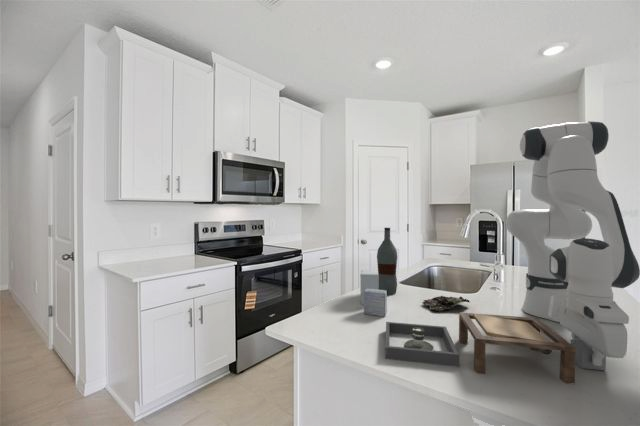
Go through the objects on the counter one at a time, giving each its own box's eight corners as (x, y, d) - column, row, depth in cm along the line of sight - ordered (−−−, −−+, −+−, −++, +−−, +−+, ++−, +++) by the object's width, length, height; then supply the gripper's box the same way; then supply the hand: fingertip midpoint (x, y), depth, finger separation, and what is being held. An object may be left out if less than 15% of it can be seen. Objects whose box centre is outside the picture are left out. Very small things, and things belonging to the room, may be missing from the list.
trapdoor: (529, 334, 85) (530, 322, 85) (553, 357, 72) (555, 343, 72) (471, 325, 88) (473, 313, 88) (485, 345, 76) (487, 332, 75)
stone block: (592, 360, 79) (592, 341, 79) (605, 370, 75) (606, 350, 74) (570, 358, 81) (570, 339, 80) (581, 368, 76) (582, 348, 75)
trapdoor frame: (536, 347, 87) (536, 318, 87) (574, 384, 69) (575, 347, 69) (458, 339, 92) (459, 312, 91) (475, 372, 74) (476, 338, 73)
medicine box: (386, 313, 114) (387, 290, 114) (385, 317, 110) (385, 293, 110) (365, 310, 117) (366, 288, 117) (363, 314, 113) (363, 291, 113)
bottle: (392, 289, 146) (392, 226, 145) (400, 294, 137) (401, 228, 136) (373, 290, 145) (374, 227, 144) (380, 295, 136) (381, 228, 135)
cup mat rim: (445, 336, 94) (445, 326, 94) (458, 366, 77) (458, 354, 76) (386, 330, 98) (386, 321, 98) (385, 358, 81) (385, 347, 80)
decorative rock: (439, 305, 112) (412, 291, 125) (439, 321, 112) (412, 306, 126) (477, 296, 118) (448, 284, 132) (477, 311, 119) (448, 297, 133)
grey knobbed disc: (450, 352, 83) (450, 334, 83) (411, 359, 80) (411, 340, 80) (423, 334, 95) (423, 319, 95) (388, 339, 91) (388, 323, 91)
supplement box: (378, 300, 130) (378, 270, 130) (378, 305, 123) (378, 274, 122) (360, 299, 131) (361, 269, 131) (360, 304, 124) (360, 273, 124)
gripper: (552, 291, 88) (551, 338, 88) (601, 317, 68) (599, 378, 68) (578, 292, 86) (577, 340, 87) (635, 319, 67) (633, 381, 67)
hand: (587, 357), depth 77 cm, fingers closed on stone block, 5 cm apart
